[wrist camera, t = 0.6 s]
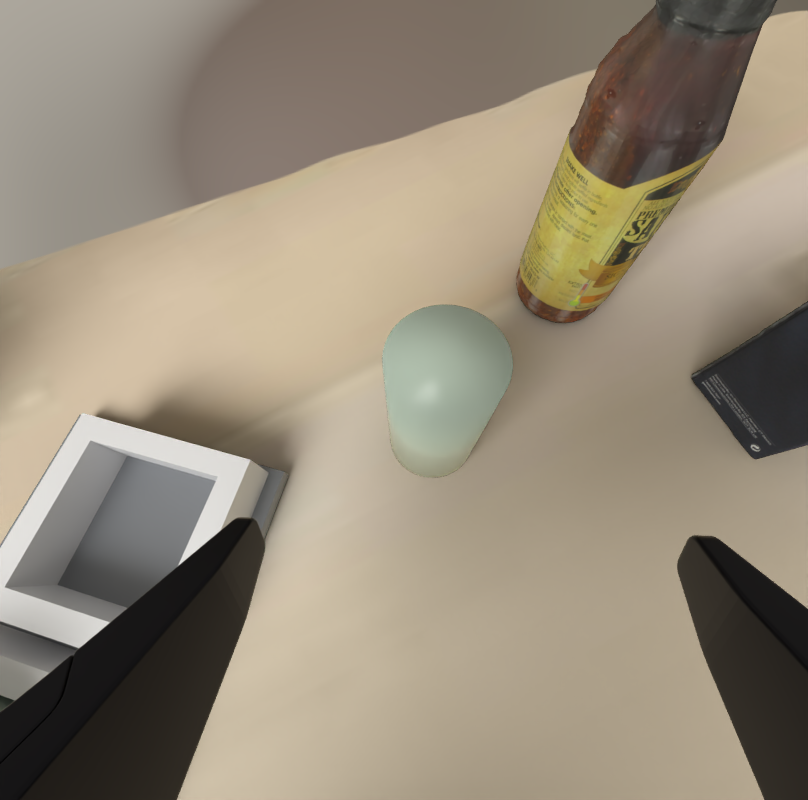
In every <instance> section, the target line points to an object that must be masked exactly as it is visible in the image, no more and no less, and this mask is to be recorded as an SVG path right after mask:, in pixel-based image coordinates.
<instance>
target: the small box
mask: <svg viewBox="0 0 808 800" xmlns="http://www.w3.org/2000/svg"><path fill="white" fill-rule="evenodd" d="M691 377H692V380H693V381H694V383H695V385H696V386H697V387H698V388H699V389H700V390H701V391H702V393H703V394H704V395H705V397H706V398H707V399H708V401H709V402H710V403H711V404H712V406H713V407H714V408H715V410H716V411H717V412H718V414H719V415H720V416H721V417H722V419H723V420H724V422H725V423H726V424H727V426H728V427H729V428H730V430H731V431H732V432H733V434H734V436H735V437H736V438H737V439H738V441H739V442H740V443H741V444H742V446H743V447H744V448H745V449H746V450H747V452H748V453H749V454H750V455H751V456H752V457H753V458H754V459H759V458H763V457H766V456H770V455H773V454H777V453H781V452H784V451H788V450H791V449H795V448H798V447H802V446H805V445H808V301H807V302H806V303H804V304H803V305H801V306H800V307H798V308H796V309H795V310H794V311H792V312H791V313H789V314H787V315H786V316H785V317H783V318H781V319H779V320H778V321H776V322H775V323H773V324H772V325H770V326H769V327H767V328H765V329H764V330H763V331H762V332H760V333H759V334H758V335H756V336H754V337H752V338H751V339H749V340H748V341H746V342H745V343H743V344H741V345H740V346H739V347H737V348H735V349H733V350H732V351H730V352H729V353H727V354H725V355H724V356H722V357H720V358H719V359H717V360H716V361H714V362H712V363H710V364H709V365H707V366H706V367H704V368H703V369H701V370H699V371H697V372H696V373H694V374H692V376H691Z"/></svg>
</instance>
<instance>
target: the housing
mask: <svg viewBox="0 0 808 800" xmlns="http://www.w3.org/2000/svg"><path fill="white" fill-rule="evenodd" d="M288 476H289V475H288V474H287V473H285V472H284V471H280V470H277V469H273V468H270V467H266V466H262V465H259V464H256V463H254V462H253V461H251V460H249V459H246V458H242V457H239V456H235V455H231V454H228V453H224V452H221V451H217V450H213V449H210V448H206V447H203V446H199V445H196V444H192V443H188V442H185V441H181V440H178V439H174V438H170V437H167V436H163V435H160V434H156V433H152V432H149V431H145V430H142V429H138V428H134V427H131V426H127V425H124V424H120V423H117V422H113V421H109V420H106V419H102V418H99V417H95V416H91V415H88V414H84V413H82V415H79V417H78V419H77V420H76V422H75V424H74V425H73V427H72V428H71V430H70V432H69V433H68V435H67V437H66V438H65V440H64V442H63V443H62V445H61V446H60V448H59V450H58V451H57V453H56V455H55V456H54V458H53V460H52V461H51V463H50V464H49V466H48V468H47V469H46V471H45V473H44V474H43V476H42V478H41V479H40V481H39V482H38V484H37V486H36V487H35V489H34V491H33V492H32V494H31V496H30V497H29V499H28V501H27V502H26V504H25V505H24V507H23V509H22V510H21V512H20V514H19V515H18V517H17V519H16V520H15V522H14V523H13V525H12V527H11V528H10V530H9V532H8V533H7V535H6V537H5V538H4V540H3V541H2V543H1V545H0V712H1V711H2V710H3V709H5V708H6V707H7V706H9V705H10V704H11V703H12V702H14V701H15V700H16V699H18V698H19V697H20V696H21V695H23V694H24V693H25V692H26V691H28V690H29V689H30V688H31V687H32V686H34V685H35V684H36V683H37V682H39V681H40V680H41V679H42V678H44V677H45V676H46V675H47V674H49V673H50V672H51V671H52V670H53V669H55V668H56V667H57V666H58V665H59V664H61V663H62V662H63V661H64V660H65V659H67V658H68V657H69V656H70V655H74V654H75V652H76V650H78V649H79V648H80V647H81V646H82V645H84V644H85V643H86V642H87V641H88V640H90V639H91V638H92V637H93V636H94V635H96V634H97V633H98V632H99V631H100V630H102V629H103V628H104V627H105V626H106V625H108V624H109V623H110V622H111V621H112V620H114V619H115V618H116V617H117V616H118V615H120V614H121V613H122V612H123V611H124V610H126V609H127V608H128V607H129V606H130V605H132V604H133V603H134V602H135V601H136V600H138V599H139V598H140V597H141V596H142V595H144V594H145V593H146V592H147V591H148V590H150V589H151V588H152V587H153V586H154V585H156V584H157V583H158V582H159V581H160V580H162V579H163V578H164V577H165V576H166V575H168V574H169V573H170V572H171V571H172V570H174V569H175V568H176V567H177V566H178V565H180V564H181V563H182V562H183V561H184V560H186V559H187V558H188V557H189V556H190V555H192V554H193V553H194V552H195V551H197V550H198V549H199V548H200V547H201V546H203V545H204V544H205V543H206V542H207V541H209V540H210V539H211V538H212V537H213V536H215V535H216V534H217V533H218V532H219V531H221V530H222V529H223V528H224V527H225V526H227V525H228V524H229V523H230V522H231V521H233V520H234V519H236V518H238V517H250V518H255V519H256V520H257V522H258V524H259V527H260V530H261V532H262V535H263V538H264V539H265V536H266V534H267V531H268V528H269V526H270V523H271V521H272V518H273V515H274V513H275V510H276V508H277V505H278V502H279V500H280V497H281V494H282V492H283V489H284V487H285V484H286V481H287V479H288Z"/></svg>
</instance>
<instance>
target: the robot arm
mask: <svg viewBox="0 0 808 800" xmlns="http://www.w3.org/2000/svg"><path fill="white" fill-rule="evenodd" d="M264 552H265V540H264V538H263V535H262V532H261V530H260V527H259V524H258V522H257V520H256V519H255V518H250V517H238V518H236V519H234V520H233V521H231V522H230V523H229V524H228V525H227V526H225V527H224V528H223V529H222V530H221V531H219V532H218V533H217V534H216V535H215V536H213V537H212V538H211V539H210V540H209V541H207V542H206V543H205V544H204V545H203V546H201V547H200V548H199V549H198V550H197V551H195V552H194V553H193V554H192V555H190V556H189V557H188V558H187V559H186V560H184V561H183V562H182V563H181V564H180V565H178V566H177V567H176V568H175V569H174V570H172V571H171V572H170V573H169V574H168V575H166V576H165V577H164V578H163V579H162V580H160V581H159V582H158V583H157V584H156V585H154V586H153V587H152V588H151V589H150V590H148V591H147V592H146V593H145V594H144V595H142V596H141V597H140V598H139V599H138V600H136V601H135V602H134V603H133V604H132V605H130V606H129V607H128V608H127V609H126V610H124V611H123V612H122V613H121V614H120V615H118V616H117V617H116V618H115V619H114V620H112V621H111V622H110V623H109V624H108V625H106V626H105V627H104V628H103V629H102V630H100V631H99V632H98V633H97V634H96V635H94V636H93V637H92V638H91V639H90V640H88V641H87V642H86V643H85V644H84V645H82V646H81V647H80V648H79V649H78V650H76V652H75V654H74V655H70V656H69V657H68V658H67V659H65V660H64V661H63V662H62V663H61V664H59V665H58V666H57V667H56V668H55V669H53V670H52V671H51V672H50V673H49V674H47V675H46V676H45V677H44V678H42V679H41V680H40V681H39V682H37V683H36V684H35V685H34V686H32V687H31V688H30V689H29V690H28V691H26V692H25V693H24V694H23V695H21V696H20V697H19V698H18V699H16V700H15V701H14V702H12V703H11V704H10V705H9V706H7V707H6V708H5V709H3V710H2V711H1V712H0V800H177V798H178V795H179V792H180V790H181V787H182V785H183V782H184V779H185V777H186V774H187V772H188V769H189V766H190V764H191V761H192V759H193V756H194V753H195V751H196V748H197V746H198V743H199V740H200V738H201V735H202V733H203V730H204V727H205V725H206V722H207V720H208V717H209V714H210V712H211V709H212V707H213V704H214V701H215V699H216V696H217V694H218V691H219V688H220V686H221V683H222V681H223V678H224V675H225V673H226V670H227V668H228V665H229V662H230V660H231V657H232V655H233V652H234V649H235V647H236V644H237V642H238V639H239V636H240V634H241V631H242V628H243V626H244V623H245V620H246V617H247V614H248V610H249V607H250V603H251V600H252V596H253V592H254V589H255V585H256V581H257V578H258V574H259V570H260V567H261V563H262V559H263V556H264ZM677 569H678V574H679V577H680V581H681V584H682V587H683V590H684V594H685V597H686V600H687V603H688V607H689V610H690V613H691V617H692V620H693V623H694V626H695V630H696V633H697V636H698V639H699V642H700V645H701V648H702V651H703V654H704V657H705V659H706V662H707V664H708V667H709V669H710V671H711V674H712V676H713V679H714V681H715V683H716V686H717V688H718V690H719V693H720V695H721V697H722V700H723V702H724V705H725V707H726V709H727V712H728V714H729V716H730V719H731V721H732V724H733V726H734V728H735V731H736V733H737V735H738V738H739V740H740V743H741V745H742V747H743V750H744V752H745V754H746V757H747V759H748V762H749V764H750V766H751V769H752V771H753V773H754V776H755V778H756V781H757V783H758V785H759V788H760V790H761V792H762V795H763V797H764V800H808V609H807V608H806V607H805V606H804V605H802V604H801V603H800V602H798V601H797V600H796V599H795V598H793V597H792V596H791V595H790V594H788V593H787V592H786V591H784V590H783V589H782V588H781V587H779V586H778V585H777V584H775V583H774V582H773V581H772V580H770V579H769V578H768V577H767V576H765V575H764V574H763V573H761V572H760V571H759V570H758V569H756V568H755V567H754V566H753V565H751V564H750V563H749V562H747V561H746V560H745V559H744V558H742V557H741V556H740V555H738V554H737V553H736V552H735V551H733V550H732V549H731V548H730V547H728V546H727V545H726V544H724V543H723V542H722V541H721V540H719V539H717V538H716V537H713V536H698V535H694V536H691V537H689V539H688V540H687V542H686V544H685V547H684V549H683V551H682V553H681V555H680V557H679V559H678V563H677Z"/></svg>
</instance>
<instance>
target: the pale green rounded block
mask: <svg viewBox="0 0 808 800" xmlns="http://www.w3.org/2000/svg"><path fill="white" fill-rule="evenodd" d="M382 363H383V374H384V384H385V393H386V403H387V412H388V422H389V431H390V441H391V446H392V450H393V452H394V454H395V456H396V458H397V459H398V461H399V462H400V463H401V464H402V466H404V467H405V468H406V469H407V470H409V471H410V472H412V473H414V474H416V475H419V476H423V477H429V478H436V477H442V476H446V475H449V474H451V473H453V472H454V471H456V470H457V469H459V468H460V467H461V466H462V465H463V464H464V462H465V461H466V460H467V458H468V456H469V455H470V453H471V451H472V449H473V448H474V446H475V444H476V442H477V441H478V439H479V437H480V435H481V434H482V432H483V430H484V428H485V427H486V425H487V423H488V421H489V420H490V418H491V416H492V414H493V413H494V411H495V409H496V407H497V406H498V404H499V402H500V400H501V399H502V397H503V395H504V393H505V392H506V390H507V388H508V385H509V383H510V380H511V377H512V371H513V358H512V353H511V349H510V346H509V344H508V342H507V340H506V338H505V336H504V335H503V333H502V332H501V331H500V329H499V328H498V327H497V326H496V325H495V324H494V323H493V322H492V321H491V320H489V319H488V318H486V317H485V316H484V315H482V314H480V313H478V312H476V311H474V310H471V309H469V308H465V307H462V306H456V305H434V306H429V307H425V308H422V309H419V310H417V311H414V312H413V313H411V314H409V315H407V316H406V317H405V318H403V319H402V320H401V321H400V322H399V323H398V324H397V325H396V326H395V327H394V328H393V330H392V331H391V333H390V334H389V336H388V338H387V340H386V343H385V346H384V350H383V357H382Z"/></svg>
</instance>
